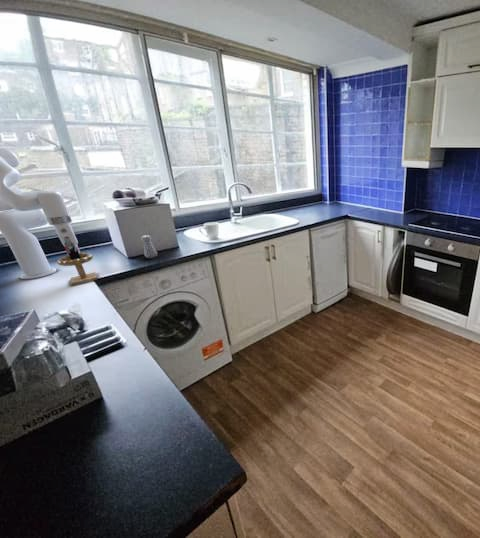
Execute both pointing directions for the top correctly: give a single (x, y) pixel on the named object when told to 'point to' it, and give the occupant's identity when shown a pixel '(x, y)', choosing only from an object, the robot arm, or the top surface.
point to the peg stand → (82, 276)
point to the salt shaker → (148, 247)
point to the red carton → (76, 248)
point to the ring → (68, 262)
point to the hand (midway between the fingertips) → (76, 258)
